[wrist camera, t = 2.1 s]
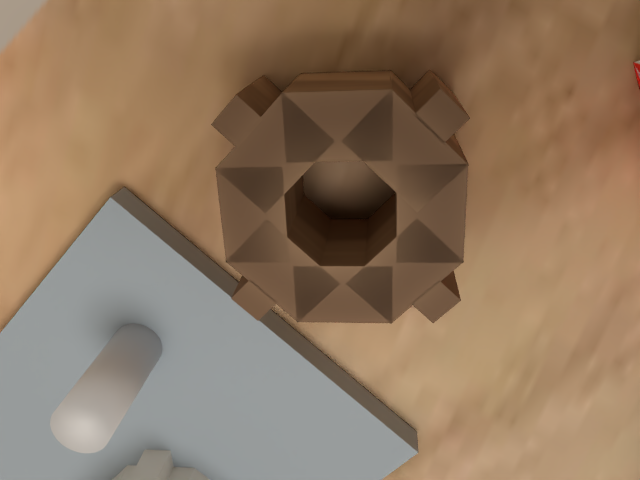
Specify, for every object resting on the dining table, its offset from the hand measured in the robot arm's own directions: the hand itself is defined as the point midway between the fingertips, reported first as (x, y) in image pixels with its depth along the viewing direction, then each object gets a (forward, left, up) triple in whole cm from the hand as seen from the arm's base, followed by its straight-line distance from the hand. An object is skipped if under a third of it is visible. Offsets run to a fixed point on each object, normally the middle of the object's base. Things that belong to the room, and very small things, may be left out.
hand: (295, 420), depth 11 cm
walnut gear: (0, 0, -16) cm, 16 cm away
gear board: (+17, +3, -16) cm, 23 cm away
